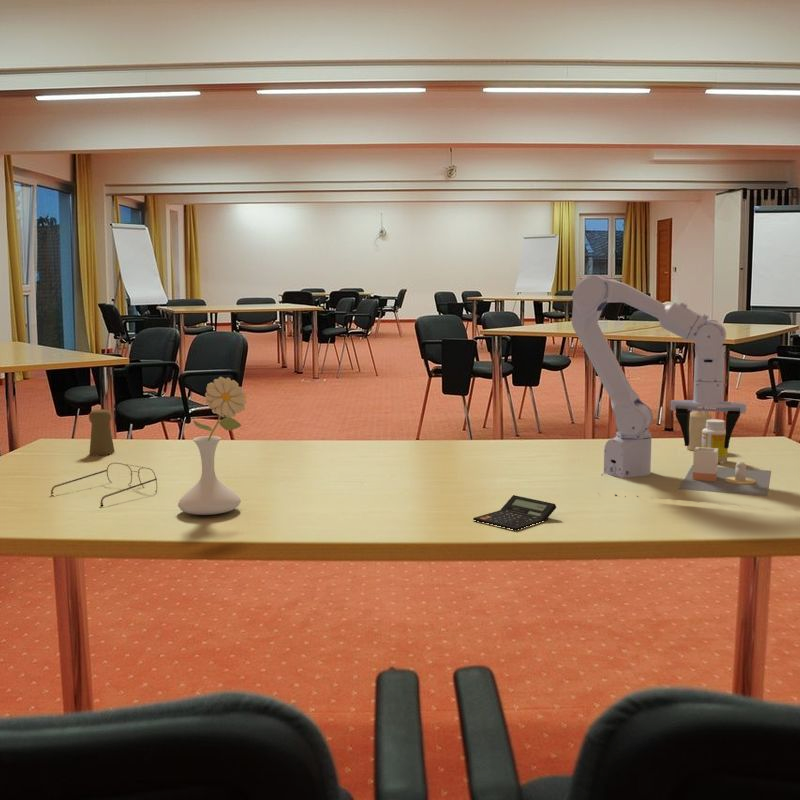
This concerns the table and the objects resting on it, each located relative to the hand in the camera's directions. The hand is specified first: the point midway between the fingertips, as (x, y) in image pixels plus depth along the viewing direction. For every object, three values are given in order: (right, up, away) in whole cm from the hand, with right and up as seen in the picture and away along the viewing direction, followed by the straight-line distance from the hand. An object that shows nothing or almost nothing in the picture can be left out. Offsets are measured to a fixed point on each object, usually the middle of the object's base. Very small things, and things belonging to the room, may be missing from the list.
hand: (706, 446), depth 180 cm
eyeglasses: (-122, -10, -2) cm, 123 cm away
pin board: (+4, -8, 0) cm, 9 cm away
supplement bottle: (+8, -5, +18) cm, 20 cm away
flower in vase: (-97, -11, -18) cm, 100 cm away
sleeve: (0, -7, +1) cm, 7 cm away
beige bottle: (+11, -3, +36) cm, 38 cm away
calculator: (-43, -12, -25) cm, 51 cm away
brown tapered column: (-137, -4, +39) cm, 143 cm away
